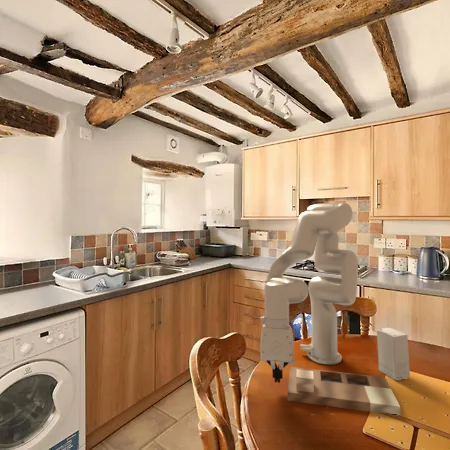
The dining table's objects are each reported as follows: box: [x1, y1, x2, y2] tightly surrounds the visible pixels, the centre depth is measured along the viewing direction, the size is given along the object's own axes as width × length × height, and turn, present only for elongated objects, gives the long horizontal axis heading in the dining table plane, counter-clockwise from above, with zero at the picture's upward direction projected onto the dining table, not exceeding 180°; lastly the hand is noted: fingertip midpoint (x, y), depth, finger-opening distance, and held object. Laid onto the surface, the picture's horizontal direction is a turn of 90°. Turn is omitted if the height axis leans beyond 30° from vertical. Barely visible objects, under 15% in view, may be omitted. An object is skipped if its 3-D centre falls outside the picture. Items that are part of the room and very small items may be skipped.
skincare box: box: [376, 327, 411, 381], centre depth 103 cm, size 8×6×15 cm
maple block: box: [296, 369, 314, 393], centre depth 91 cm, size 5×5×4 cm
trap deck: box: [287, 366, 401, 416], centre depth 93 cm, size 30×16×2 cm, turn 75°
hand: (277, 380), depth 93 cm, fingers closed
